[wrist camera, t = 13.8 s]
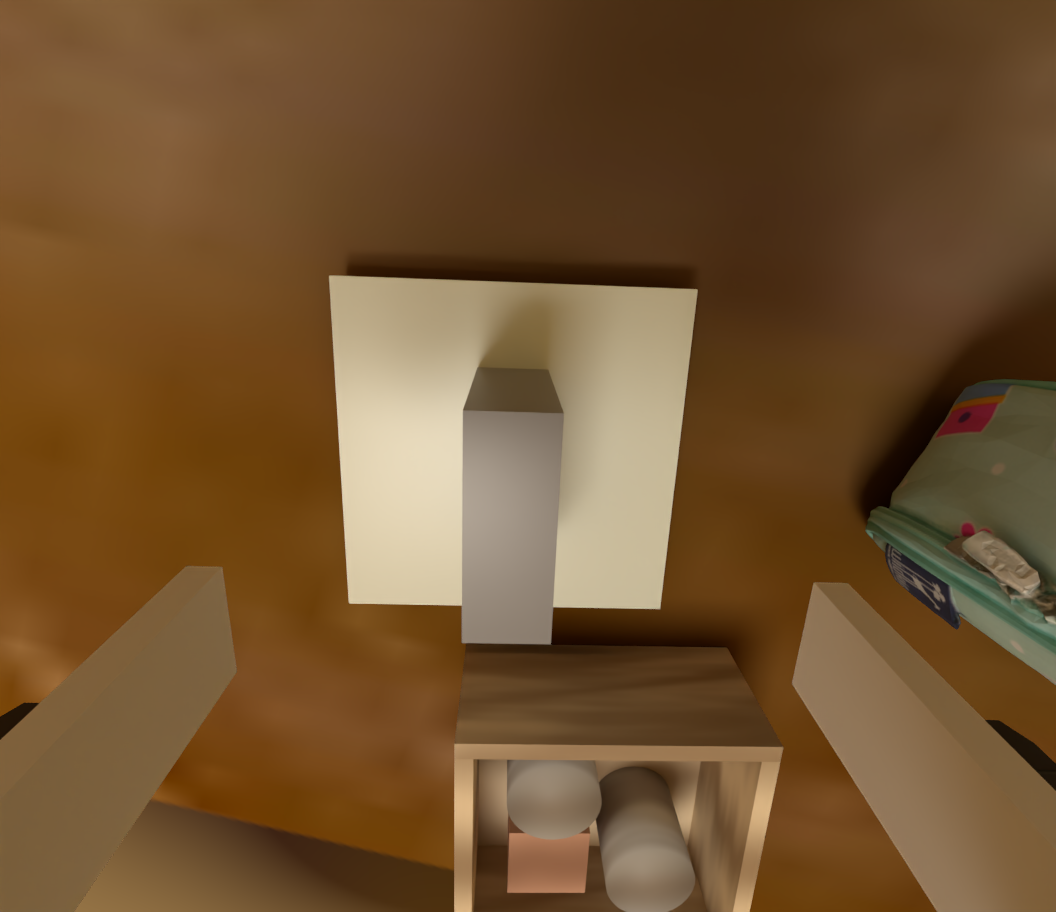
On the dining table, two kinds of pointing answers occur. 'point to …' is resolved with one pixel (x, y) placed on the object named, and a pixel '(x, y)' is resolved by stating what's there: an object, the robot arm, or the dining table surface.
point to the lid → (508, 444)
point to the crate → (609, 780)
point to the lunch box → (984, 519)
